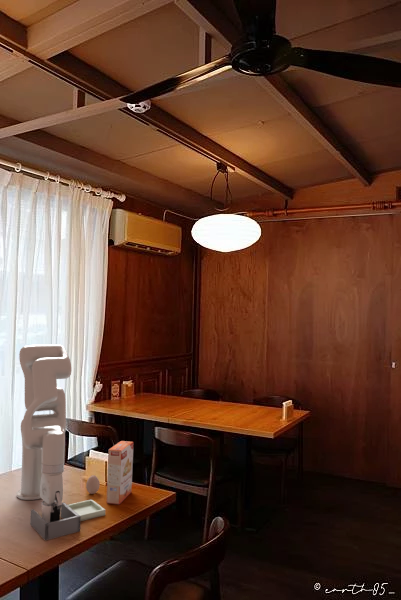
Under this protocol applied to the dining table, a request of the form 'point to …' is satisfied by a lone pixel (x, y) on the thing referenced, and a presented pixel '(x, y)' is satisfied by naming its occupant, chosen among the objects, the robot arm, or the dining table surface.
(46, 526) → the bay
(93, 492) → the egg
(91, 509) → the tray
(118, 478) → the cracker box
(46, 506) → the white cylinder
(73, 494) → the dining table surface
